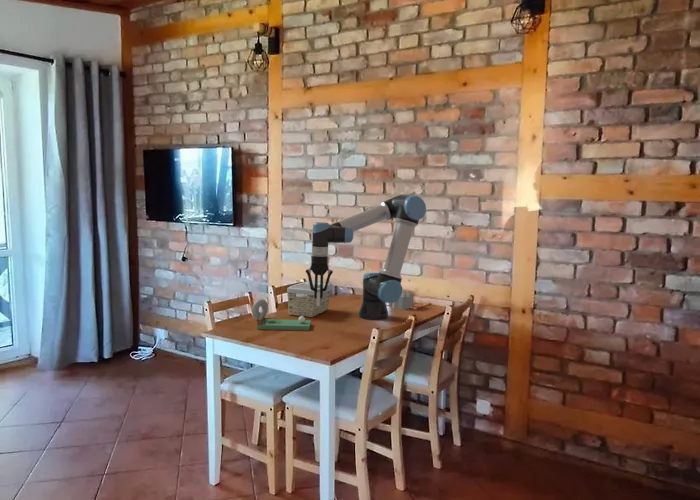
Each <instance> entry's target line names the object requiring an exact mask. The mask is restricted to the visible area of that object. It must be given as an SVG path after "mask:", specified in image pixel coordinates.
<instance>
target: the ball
mask: <svg viewBox="0 0 700 500" xmlns="http://www.w3.org/2000/svg"><path fill="white" fill-rule="evenodd" d="M297 320H298V321H299V322H300V323H304V322H305V320H306V318H305V316H298V319H297Z"/></svg>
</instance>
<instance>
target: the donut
mask: <svg viewBox="0 0 700 500" xmlns="http://www.w3.org/2000/svg"><path fill="white" fill-rule="evenodd" d="M260 307H261V309H260ZM268 311H269V304H268V302H267V301H266V300H265V299H263V298H259V299H257V300H255V301H254V303H253V305H252V308H251V313H252V316H253V317H254V318H255V319H257V320H258V318H259V317H260V315H261V314H265V317H266V316H267V314H268Z"/></svg>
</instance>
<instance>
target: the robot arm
mask: <svg viewBox="0 0 700 500" xmlns="http://www.w3.org/2000/svg"><path fill="white" fill-rule="evenodd" d="M426 212H427V206H426V203H425V200H424V199H422V198H421V197H420V196H418V195H414V194H409V195H407V194H401V195H395V196H394V197H392V198H389V199H387V200H384V201H381V202H380V204H379V205H377V206H375V207H372V208H370V209H367V210H364V211H362V212H359V213H357V214H355V215H352V216H349V217H346V218H344V219H342V220H339V221H337V222H333V223H332V224H330V223H329V222H319V221H316V222H314V223H313V224H312V233H311V235H312V236H311V237H312V239H311V240H312V241H311V242H312V243H311V254H312V256H311V265H310V267H309V268H308V269H305V273H306V275H307V278H308V282H309V283H310V288H311V290H313V291H314V298H317V305H316V306H320V299H322V297H323V291H326V290H327V286H328V283H330V278H331V276H332V274H333V273H334V270H333V269H331V268H329V265H328V263H329V262H328V261H329V260H328V259H329V256H328V255H329V244H333V243H334V244H335V243H336V244H339V243H341V244H349V243H352V242H353V240H354V232H357V231H359V230H361V229H364V228H367V227H368V226H371V225H374V224H377V223H379V222H382V221H385V220H386V221H390V220H393V219H394V220H395V222H396V225H395V228H394V231H393V235H392V239H391V243H390V245H389V250H388V251H387V252H388V253H387V256H386V260H385V262H384V266H383V269H382V270H380V271H379V272H366V273H364V274H363V278H362V303H361V305H360V308H359V311H358V317H359V318H361V319H365V320H372V321H373V320H375V321H376V320H377V321H379V320H385V319H388V318H389V311H388V307H387V304H392V303H393V302H395V301H397V300H398V299H399V298H400V297H401V295H402V292H403V286H402V284H401V283H402V280H403V278H402V276H401V273H402V268H403V265H404V262H405V258H406V254H407V252H408V247H409V244H410V242H411V241H410V240H411V239H412V238H411V237H412V234H413V231H414V228H416V227H417V226H418V225H419V221H420V220H421V219H423V218H424V216H425V215H426ZM311 273H312V274H313V275H314V282H315V288H313V283H312V282H313V278H312V274H311ZM326 273H327V277H326V280H325V283H326V284H325V287H324V288H323V283H324V275H325V274H326ZM319 278H320V279H319ZM318 279H319V280H320V281H319V280H318ZM318 281H319V282H318ZM318 283H320V291H317V289H318V288H317V286H318ZM386 303H387V304H386Z"/></svg>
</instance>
